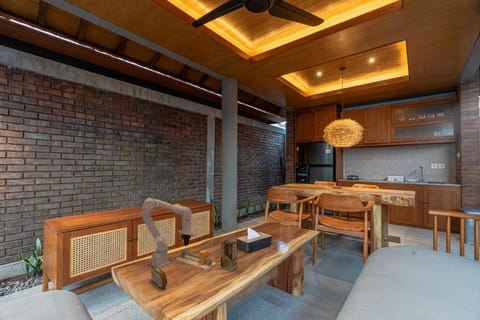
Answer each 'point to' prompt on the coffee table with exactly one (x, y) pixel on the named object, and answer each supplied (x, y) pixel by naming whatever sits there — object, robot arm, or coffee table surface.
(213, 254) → the coffee table surface
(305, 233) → the coffee table surface
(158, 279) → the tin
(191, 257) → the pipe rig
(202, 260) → the orange block with hole
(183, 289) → the coffee table surface
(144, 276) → the coffee table surface
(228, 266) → the coffee box
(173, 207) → the robot arm
